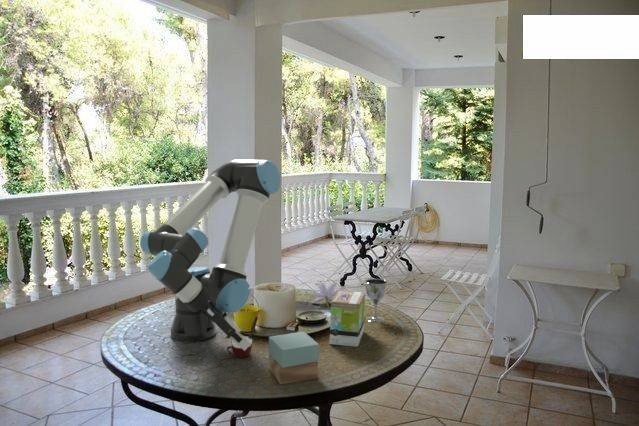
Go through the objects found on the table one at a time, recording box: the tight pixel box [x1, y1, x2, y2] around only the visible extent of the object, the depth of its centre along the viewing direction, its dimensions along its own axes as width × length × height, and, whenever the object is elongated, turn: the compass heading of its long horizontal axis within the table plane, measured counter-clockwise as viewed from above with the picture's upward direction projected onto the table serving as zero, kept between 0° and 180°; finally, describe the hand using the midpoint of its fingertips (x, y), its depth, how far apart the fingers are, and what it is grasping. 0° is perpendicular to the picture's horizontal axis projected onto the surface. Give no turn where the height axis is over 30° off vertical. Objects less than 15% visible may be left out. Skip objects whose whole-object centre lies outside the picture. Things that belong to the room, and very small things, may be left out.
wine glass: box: [365, 278, 388, 324], centre depth 193 cm, size 8×8×15 cm
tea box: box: [329, 290, 366, 348], centre depth 173 cm, size 15×10×15 cm
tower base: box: [268, 353, 319, 385], centre depth 146 cm, size 11×11×5 cm
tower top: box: [268, 331, 320, 368], centre depth 146 cm, size 11×11×5 cm
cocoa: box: [226, 315, 259, 359], centre depth 158 cm, size 10×6×12 cm, turn 87°
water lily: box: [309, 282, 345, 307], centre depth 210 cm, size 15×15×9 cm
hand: (242, 339), depth 156 cm, fingers open, 13 cm apart
